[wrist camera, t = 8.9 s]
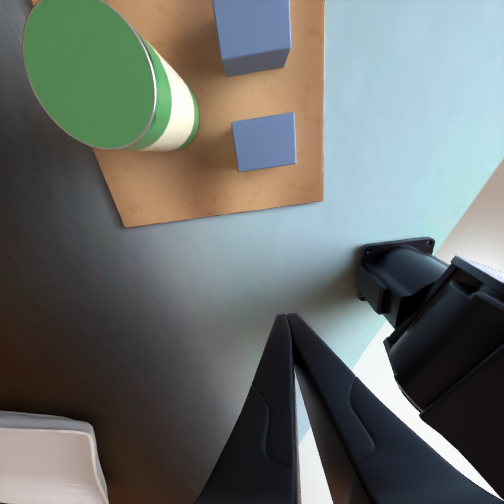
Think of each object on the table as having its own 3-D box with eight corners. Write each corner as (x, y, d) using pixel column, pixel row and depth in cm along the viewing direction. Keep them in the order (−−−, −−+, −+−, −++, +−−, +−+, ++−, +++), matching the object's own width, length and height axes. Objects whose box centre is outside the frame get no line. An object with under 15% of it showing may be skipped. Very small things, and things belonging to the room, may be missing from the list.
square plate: (-26, 472, 41) (-52, 502, 38) (-94, 384, 30) (-140, 415, 26) (118, 484, 43) (106, 513, 40) (105, 407, 32) (87, 439, 28)
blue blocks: (281, 6, 13) (288, -32, 10) (289, 162, 17) (296, 163, 14) (218, 18, 13) (209, -17, 11) (240, 169, 17) (238, 172, 14)
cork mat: (323, -85, 12) (325, -93, 11) (322, 200, 19) (323, 201, 18) (26, -21, 13) (20, -26, 13) (127, 226, 20) (125, 227, 19)
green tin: (247, 20, 10) (-30, -85, 5) (259, 135, 13) (74, 149, 7) (168, 82, 17) (7, 65, 11) (185, 151, 19) (56, 165, 13)
